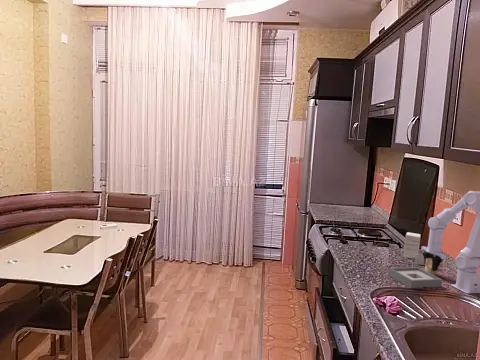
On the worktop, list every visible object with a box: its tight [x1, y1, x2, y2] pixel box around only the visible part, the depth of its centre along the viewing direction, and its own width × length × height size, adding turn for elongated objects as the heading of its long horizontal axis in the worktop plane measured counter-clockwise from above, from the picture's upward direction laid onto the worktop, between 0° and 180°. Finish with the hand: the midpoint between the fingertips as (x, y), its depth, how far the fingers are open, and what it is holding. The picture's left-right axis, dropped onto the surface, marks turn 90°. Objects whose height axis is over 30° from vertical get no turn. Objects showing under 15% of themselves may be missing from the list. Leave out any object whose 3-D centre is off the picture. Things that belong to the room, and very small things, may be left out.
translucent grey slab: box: [414, 253, 425, 266], centre depth 218 cm, size 7×2×8 cm, turn 68°
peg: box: [424, 258, 439, 276], centre depth 204 cm, size 4×4×7 cm
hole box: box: [387, 266, 443, 289], centre depth 192 cm, size 16×16×4 cm
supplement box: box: [402, 231, 422, 260], centre depth 231 cm, size 7×7×13 cm
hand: (431, 269), depth 204 cm, fingers closed on peg, 4 cm apart
